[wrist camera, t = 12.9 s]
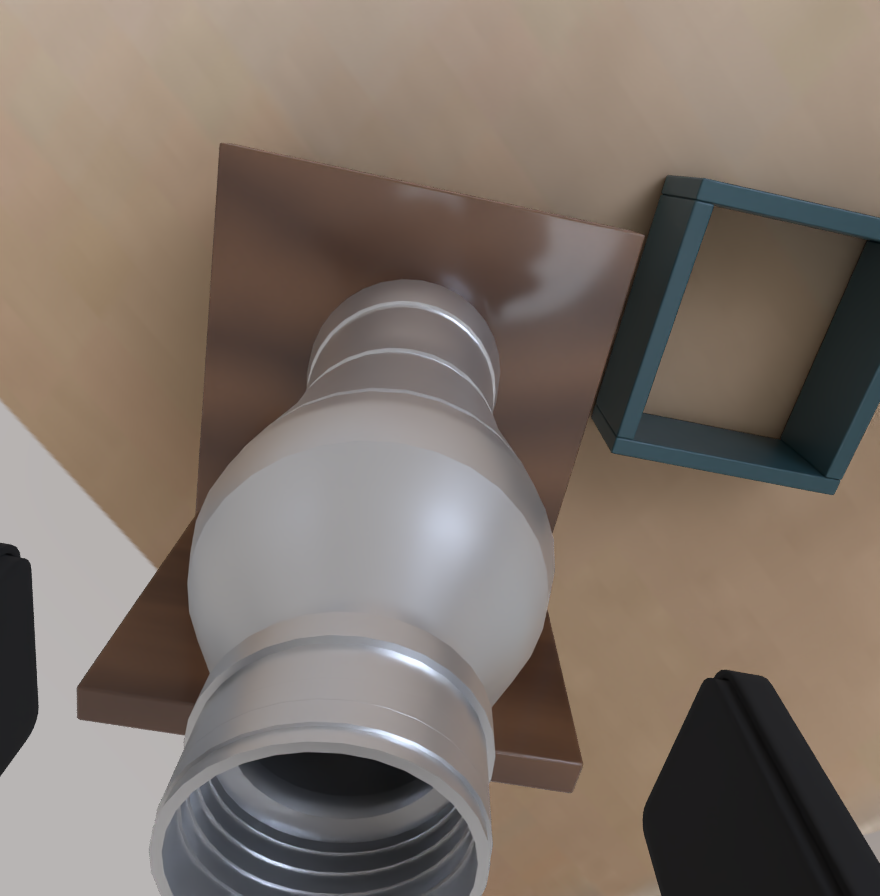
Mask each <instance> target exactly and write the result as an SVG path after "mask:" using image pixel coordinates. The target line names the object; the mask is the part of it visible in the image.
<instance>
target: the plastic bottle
mask: <svg viewBox="0 0 880 896" xmlns="http://www.w3.org/2000/svg"><path fill="white" fill-rule="evenodd" d="M499 378H500V364H499V353H498V350H497V346H496V343H495V339H494V336H493V334H492V332H491V331H490V329H489V327H488V325H487V323H486V321H485V320H484V318H483V317H482V316H481V315H480V314H479V312H478V311H477V310H476V309H475V308H474V306H473V305H471V304H470V303H469V302H468V301H466V300H465V299H464V298H462V297H461V296H460V295H459V294H457V293H455V292H453V291H451V290H449V289H447V288H445V287H443V286H441V285H437V284H434V283H430V282H426V281H422V280H407V279H400V280H393V281H386V282H381V283H378V284H375V285H372V286H370V287H367V288H364V289H362V290H361V291H359V292H357V293H355V294H354V295H352V296H350V297H349V298H347V299H346V300H345V301H344V302H343V303H342V304H340V305H339V306H338V307H337V308H336V309H335V310H334V311H333V312H332V313H331V314H330V316H329V317H328V319H327V320H326V321H325V323H324V324H323V325H322V327H321V329H320V331H319V333H318V335H317V337H316V340H315V342H314V344H313V348H312V352H311V357H310V361H309V366H308V371H307V389H306V392H305V393H304V395H303V396H302V397H301V399H300V400H299V401H298V403H297V404H295V405H294V406H293V407H292V408H290V409H289V410H288V411H287V412H285V413H284V414H283V415H282V416H280V417H279V418H278V419H277V420H275V421H274V422H273V423H271V424H270V425H269V426H267V427H266V428H265V429H264V430H263V431H262V432H261V433H259V434H258V435H257V436H256V437H255V438H254V439H253V440H251V441H250V442H249V443H248V444H247V445H246V446H245V447H244V448H243V449H242V450H241V452H240V453H239V454H238V455H237V456H236V457H235V458H234V459H233V460H232V461H231V462H230V463H229V465H228V466H227V467H226V469H225V470H224V471H223V473H222V474H221V475H220V477H219V478H218V479H217V481H216V482H215V484H214V485H213V486H212V488H211V489H210V490H209V492H208V494H207V497H206V499H205V501H204V504H203V506H202V508H201V510H200V513H199V515H198V517H197V520H196V523H195V529H194V535H193V540H192V546H191V552H190V561H189V571H188V581H187V586H188V602H189V614H190V617H191V620H192V624H193V627H194V630H195V634H196V637H197V640H198V643H199V646H200V648H201V651H202V654H203V656H204V659H205V662H206V664H207V667H208V670H209V672H210V674H209V676H208V678H207V680H206V682H205V684H204V687H203V689H202V691H201V693H200V695H199V697H198V699H197V701H196V703H195V706H194V708H193V710H192V712H191V714H190V717H189V719H188V723H187V728H186V733H185V738H184V750H183V753H182V755H181V757H180V760H179V762H178V764H177V766H176V769H175V771H174V773H173V775H172V777H171V780H170V782H169V784H168V786H167V789H166V791H165V793H164V795H163V798H162V799H161V802H160V804H159V806H158V809H157V814H156V819H155V824H154V826H153V830H152V836H151V841H150V846H149V855H150V864H151V872H152V875H153V877H154V880H155V882H156V885H157V887H158V890H159V892H160V894H161V896H481V895H482V893H483V891H484V889H485V887H486V884H487V879H488V874H489V868H490V857H491V852H492V847H493V842H492V828H491V811H490V795H489V783H490V781H491V778H492V773H493V767H494V761H495V743H494V729H493V717H492V706H493V705H494V704H495V703H496V701H497V700H498V699H499V698H500V696H501V695H502V694H503V693H504V691H505V690H506V689H507V688H508V686H509V685H510V684H511V683H512V681H513V680H514V679H515V677H516V676H517V675H518V673H519V672H520V671H521V669H522V668H523V666H524V665H525V664H526V662H527V661H528V660H529V658H530V657H531V655H532V653H533V650H534V648H535V646H536V644H537V641H538V639H539V637H540V635H541V632H542V630H543V626H544V621H545V617H546V612H547V607H548V603H549V598H550V593H551V588H552V583H553V578H554V573H555V558H554V538H553V535H552V531H551V528H550V524H549V520H548V517H547V513H546V510H545V507H544V505H543V503H542V501H541V499H540V497H539V495H538V492H537V490H536V488H535V486H534V484H533V482H532V481H531V479H530V477H529V475H528V473H527V471H526V470H525V468H524V466H523V464H522V462H521V461H520V459H519V458H518V457H517V456H516V454H515V453H514V451H513V450H512V448H511V447H510V445H509V444H508V442H507V441H506V440H505V438H504V437H503V435H502V434H501V432H500V431H499V429H498V427H497V425H496V422H495V419H494V416H493V410H494V407H495V404H496V400H497V392H498V385H499Z"/></svg>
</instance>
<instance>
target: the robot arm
mask: <svg viewBox="0 0 880 896" xmlns="http://www.w3.org/2000/svg"><path fill="white" fill-rule="evenodd" d="M35 651H36V650H35V631H34V612H33V592H32V573H31V565H30V562H29V561H28V560H27V559H25V558H21V557H20V552H19V550H18V549H17V547H15V546H13V545H10V544H4V543H0V776H1V774H2V773H3V772H4V771H5V769H6V768H7V766H8V765H9V764H10V762H11V761H12V759H13V758H14V757H15V755H16V754H17V752H18V751H19V750H20V748H21V747H22V746H23V744H24V743H25V742H26V740H27V739H28V737H29V735H30V734H31V732H32V730H33V728H34V725H35V723H36V720H37V715H38V688H37V669H36V652H35ZM643 831H644V836H645V839H646V843H647V846H648V850H649V854H650V857H651V861H652V864H653V868H654V871H655V875H656V878H657V882H658V885H659V889H660V892H661V896H880V863H879V862H878V860H877V859H876V857H875V855H874V853H873V852H872V850H871V848H870V847H869V845H868V843H867V842H866V840H865V838H864V837H863V835H862V833H861V832H860V830H859V828H858V827H857V825H856V823H855V822H854V820H853V818H852V817H851V815H850V813H849V812H848V810H847V808H846V807H845V805H844V803H843V802H842V800H841V799H840V797H839V795H838V794H837V792H836V790H835V789H834V787H833V785H832V784H831V782H830V780H829V779H828V777H827V775H826V774H825V772H824V770H823V769H822V767H821V765H820V764H819V762H818V760H817V759H816V757H815V755H814V754H813V752H812V750H811V749H810V747H809V746H808V744H807V742H806V741H805V739H804V737H803V736H802V734H801V732H800V731H799V729H798V727H797V726H796V724H795V722H794V721H793V719H792V717H791V716H790V714H789V712H788V711H787V709H786V707H785V706H784V704H783V702H782V701H781V699H780V697H779V696H778V694H777V693H776V691H775V689H774V688H773V686H772V684H771V683H770V682H769V681H768V679H766V678H764V677H763V676H759V675H753V674H747V673H741V672H736V671H730V670H721V671H719V672H718V673H717V674H716V675H715V677H714V678H707V679H706V680H704V682H703V683H702V685H701V687H700V689H699V691H698V693H697V695H696V697H695V700H694V702H693V704H692V706H691V708H690V710H689V712H688V715H687V717H686V719H685V721H684V723H683V725H682V727H681V730H680V732H679V734H678V736H677V738H676V740H675V742H674V744H673V747H672V749H671V751H670V753H669V755H668V757H667V759H666V762H665V764H664V766H663V768H662V770H661V772H660V774H659V777H658V779H657V781H656V783H655V785H654V787H653V789H652V792H651V794H650V796H649V798H648V800H647V802H646V805H645V807H644V812H643Z"/></svg>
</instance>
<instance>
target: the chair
mask: <svg viewBox="0 0 880 896" xmlns="http://www.w3.org/2000/svg"><path fill="white" fill-rule="evenodd" d="M644 238H645V235H644V234H641V233H638V232H636V231H631V230H627V229H622V228H618V227H613V226H608V225H604V224H599V223H595V222H590V221H585V220H581V219H576V218H572V217H567V216H562V215H558V214H553V213H549V212H544V211H540V210H535V209H530V208H526V207H521V206H517V205H512V204H507V203H503V202H498V201H494V200H489V199H484V198H480V197H475V196H471V195H466V194H461V193H457V192H452V191H448V190H443V189H438V188H434V187H429V186H425V185H420V184H415V183H411V182H406V181H402V180H397V179H392V178H388V177H383V176H379V175H374V174H369V173H365V172H360V171H356V170H351V169H347V168H342V167H337V166H333V165H328V164H324V163H319V162H314V161H310V160H305V159H301V158H296V157H291V156H287V155H282V154H278V153H273V152H268V151H264V150H259V149H255V148H250V147H245V146H241V145H236V144H232V143H220V147H219V163H218V178H217V193H216V208H215V224H214V239H213V254H212V270H211V285H210V300H209V315H208V331H207V346H206V361H205V377H204V392H203V407H202V422H201V438H200V453H199V468H198V484H197V499H196V514H195V517H194V518H193V520H192V521H191V523H190V524H189V525H188V527H187V528H186V530H185V531H184V533H183V534H182V536H181V537H180V539H179V540H178V541H177V543H176V544H175V546H174V547H173V549H172V550H171V552H170V553H169V554H168V556H167V557H166V559H165V560H164V562H163V563H162V565H161V566H160V567H159V569H158V570H157V572H156V573H155V575H154V576H153V578H152V579H151V581H150V582H149V584H148V585H147V586H146V588H145V589H144V591H143V592H142V594H141V595H140V596H139V598H138V599H137V601H136V602H135V604H134V605H133V607H132V608H131V610H130V611H129V612H128V614H127V615H126V617H125V618H124V620H123V621H122V623H121V624H120V625H119V627H118V628H117V630H116V631H115V633H114V634H113V636H112V637H111V639H110V640H109V641H108V643H107V645H106V646H105V647H104V649H103V650H102V652H101V653H100V654H99V656H98V657H97V659H96V660H95V662H94V663H93V665H92V666H91V667H90V669H89V670H88V672H87V673H86V675H85V676H84V678H83V679H82V681H81V682H80V684H79V685H78V687H77V718H78V719H80V720H85V721H92V722H99V723H106V724H112V725H119V726H126V727H132V728H139V729H145V730H152V731H159V732H166V733H172V734H179V735H185V733H186V728H187V723H188V719H189V717H190V714H191V712H192V710H193V708H194V706H195V703H196V701H197V699H198V697H199V695H200V693H201V691H202V689H203V687H204V684H205V682H206V680H207V678H208V676H209V674H210V672H209V670H208V667H207V664H206V662H205V659H204V656H203V654H202V651H201V648H200V646H199V643H198V640H197V637H196V634H195V630H194V627H193V624H192V620H191V617H190V614H189V602H188V586H187V581H188V571H189V561H190V552H191V546H192V540H193V535H194V529H195V523H196V520H197V517H198V515H199V513H200V510H201V508H202V506H203V504H204V501H205V499H206V497H207V494H208V492H209V490H210V489H211V488H212V486H213V485H214V484H215V482H216V481H217V479H218V478H219V477H220V475H221V474H222V473H223V471H224V470H225V469H226V467H227V466H228V465H229V463H230V462H231V461H232V460H233V459H234V458H235V457H236V456H237V455H238V454H239V453H240V452H241V450H242V449H243V448H244V447H245V446H246V445H247V444H248V443H249V442H250V441H251V440H253V439H254V438H255V437H256V436H257V435H258V434H259V433H261V432H262V431H263V430H264V429H265V428H266V427H267V426H269V425H270V424H271V423H273V422H274V421H275V420H277V419H278V418H279V417H280V416H282V415H283V414H284V413H285V412H287V411H288V410H289V409H290V408H292V407H293V406H294V405H295V404H297V403H298V401H299V400H300V399H301V397H302V396H303V395H304V393H305V392H306V389H307V371H308V366H309V361H310V357H311V352H312V348H313V344H314V342H315V340H316V337H317V335H318V333H319V331H320V329H321V327H322V325H323V324H324V323H325V321H326V320H327V319H328V317H329V316H330V314H331V313H332V312H333V311H334V310H335V309H336V308H337V307H338V306H339V305H340V304H342V303H343V302H344V301H345V300H346V299H347V298H349V297H350V296H352V295H354V294H355V293H357V292H359V291H361V290H362V289H364V288H367V287H370V286H372V285H375V284H378V283H381V282H386V281H393V280H400V279H407V280H422V281H426V282H430V283H434V284H437V285H441V286H443V287H445V288H447V289H449V290H451V291H453V292H455V293H457V294H459V295H460V296H461V297H462V298H464V299H465V300H466V301H468V302H469V303H470V304H471V305H473V306H474V308H475V309H476V310H477V311H478V312H479V314H480V315H481V316H482V317H483V318H484V320H485V321H486V323H487V325H488V327H489V329H490V331H491V332H492V334H493V336H494V339H495V343H496V346H497V350H498V353H499V364H500V378H499V385H498V392H497V400H496V404H495V407H494V410H493V416H494V419H495V422H496V425H497V427H498V429H499V431H500V432H501V434H502V435H503V437H504V438H505V440H506V441H507V442H508V444H509V445H510V447H511V448H512V450H513V451H514V453H515V454H516V456H517V457H518V458H519V459H520V461H521V462H522V464H523V466H524V468H525V470H526V471H527V473H528V475H529V477H530V479H531V481H532V482H533V484H534V486H535V488H536V490H537V492H538V495H539V497H540V499H541V501H542V503H543V505H544V507H545V510H546V513H547V517H548V520H549V524H550V528H551V531H552V533H553V530H554V527H555V524H556V521H557V517H558V514H559V511H560V508H561V505H562V501H563V498H564V495H565V492H566V489H567V485H568V482H569V479H570V476H571V473H572V469H573V466H574V463H575V460H576V456H577V453H578V450H579V447H580V444H581V440H582V437H583V434H584V431H585V428H586V424H587V421H588V418H589V415H590V412H591V408H592V405H593V402H594V399H595V396H596V392H597V389H598V386H599V383H600V379H601V376H602V373H603V370H604V367H605V363H606V360H607V357H608V354H609V351H610V347H611V344H612V341H613V338H614V335H615V331H616V328H617V325H618V322H619V319H620V315H621V312H622V309H623V306H624V302H625V299H626V296H627V293H628V290H629V286H630V283H631V280H632V277H633V274H634V270H635V267H636V264H637V261H638V258H639V254H640V251H641V248H642V245H643V242H644ZM492 717H493V729H494V743H495V761H494V767H493V773H492V778H491V781H492V782H499V783H505V784H512V785H519V786H525V787H532V788H539V789H545V790H552V791H559V792H565V793H572V792H573V790H574V788H575V785H576V783H577V780H578V778H579V775H580V773H581V770H582V767H583V761H582V757H581V752H580V748H579V744H578V739H577V735H576V731H575V727H574V722H573V718H572V714H571V709H570V705H569V701H568V696H567V692H566V688H565V683H564V679H563V675H562V670H561V666H560V662H559V658H558V653H557V649H556V645H555V640H554V636H553V632H552V627H551V623H550V619H549V614H548V610H547V612H546V617H545V621H544V626H543V630H542V632H541V635H540V637H539V639H538V641H537V644H536V646H535V648H534V650H533V653H532V655H531V657H530V658H529V660H528V661H527V662H526V664H525V665H524V666H523V668H522V669H521V671H520V672H519V673H518V675H517V676H516V677H515V679H514V680H513V681H512V683H511V684H510V685H509V686H508V688H507V689H506V690H505V691H504V693H503V694H502V695H501V696H500V698H499V699H498V700H497V701H496V703H495V704H494V705H493V706H492Z"/></svg>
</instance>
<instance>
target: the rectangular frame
mask: <svg viewBox="0 0 880 896" xmlns="http://www.w3.org/2000/svg"><path fill="white" fill-rule="evenodd" d="M662 194H663V195H661V196H660V199H659V202H658V206H657V209H656V212H655V215H654V218H653V222H652V225H651V228H650V231H649V234H648V237H647V241H646V244H645V247H644V250H643V253H642V257H641V260H640V263H639V266H638V269H637V273H636V276H635V279H634V282H633V285H632V289H631V292H630V295H629V298H628V301H627V305H626V308H625V311H624V314H623V317H622V320H621V324H620V327H619V330H618V333H617V336H616V340H615V343H614V346H613V349H612V352H611V356H610V359H609V362H608V365H607V368H606V372H605V375H604V378H603V381H602V384H601V388H600V391H599V394H598V397H597V400H596V404H595V407H594V410H593V413H592V416H591V417H592V420H593V421H594V423H595V425H596V426H597V428H598V430H599V432H600V433H601V435H602V437H603V439H604V440H605V442H606V444H607V446H608V447H609V449H610V451H611V453H614V454H619V455H625V456H630V457H635V458H640V459H646V460H651V461H656V462H661V463H666V464H672V465H677V466H682V467H687V468H693V469H698V470H703V471H708V472H714V473H719V474H724V475H729V476H735V477H740V478H745V479H750V480H756V481H761V482H766V483H771V484H777V485H782V486H787V487H792V488H797V489H803V490H808V491H813V492H818V493H824V494H829V495H834V494H835V492H836V490H837V488H838V486H839V483H840V480H841V479H842V478H843V476H844V473H845V471H846V469H847V467H848V465H849V463H850V461H851V459H852V457H853V455H854V453H855V451H856V449H857V447H858V445H859V443H860V441H861V439H862V437H863V435H864V433H865V431H866V429H867V427H868V425H869V423H870V421H871V419H872V417H873V415H874V413H875V410H876V408H877V406H878V404H879V402H880V218H879V217H875V216H870V215H866V214H861V213H857V212H852V211H848V210H844V209H839V208H835V207H830V206H826V205H821V204H817V203H813V202H808V201H804V200H799V199H795V198H790V197H786V196H782V195H777V194H773V193H768V192H764V191H759V190H755V189H751V188H746V187H742V186H737V185H733V184H728V183H724V182H719V181H715V180H711V179H706V178H697V177H684V176H672V175H668V176H667V177H666V180H665V183H664V186H663V189H662ZM714 206H717V207H721V208H726V209H730V210H735V211H739V212H744V213H748V214H753V215H757V216H762V217H766V218H771V219H775V220H780V221H784V222H789V223H793V224H798V225H802V226H807V227H811V228H816V229H820V230H825V231H829V232H834V233H838V234H843V235H847V236H852V237H856V238H861V239H865V240H870V241H867V242H866V245H865V247H864V249H863V252H862V254H861V256H860V258H859V261H858V263H857V265H856V267H855V270H854V272H853V274H852V277H851V279H850V281H849V283H848V286H847V288H846V290H845V292H844V295H843V297H842V299H841V302H840V304H839V306H838V308H837V311H836V313H835V315H834V317H833V320H832V322H831V324H830V327H829V329H828V331H827V333H826V336H825V338H824V340H823V343H822V345H821V347H820V349H819V352H818V354H817V356H816V358H815V361H814V363H813V365H812V368H811V370H810V372H809V374H808V377H807V379H806V381H805V383H804V386H803V388H802V390H801V393H800V395H799V397H798V399H797V402H796V404H795V406H794V408H793V411H792V413H791V415H790V418H789V420H788V422H787V424H786V427H785V429H784V431H783V434H782V436H781V440H779V439H773V438H768V437H763V436H758V435H753V434H748V433H743V432H738V431H733V430H728V429H723V428H717V427H712V426H707V425H702V424H697V423H692V422H687V421H682V420H677V419H672V418H666V417H661V416H656V415H651V414H646V413H643V410H644V407H645V405H646V402H647V399H648V396H649V393H650V390H651V387H652V384H653V381H654V378H655V376H656V373H657V370H658V367H659V364H660V361H661V358H662V355H663V352H664V350H665V347H666V344H667V341H668V338H669V335H670V332H671V329H672V326H673V323H674V321H675V318H676V315H677V312H678V309H679V306H680V303H681V300H682V297H683V294H684V292H685V289H686V286H687V283H688V280H689V277H690V274H691V271H692V268H693V265H694V263H695V260H696V257H697V254H698V251H699V248H700V245H701V242H702V239H703V236H704V234H705V231H706V228H707V225H708V222H709V219H710V216H711V213H712V210H713V207H714Z"/></svg>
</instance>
